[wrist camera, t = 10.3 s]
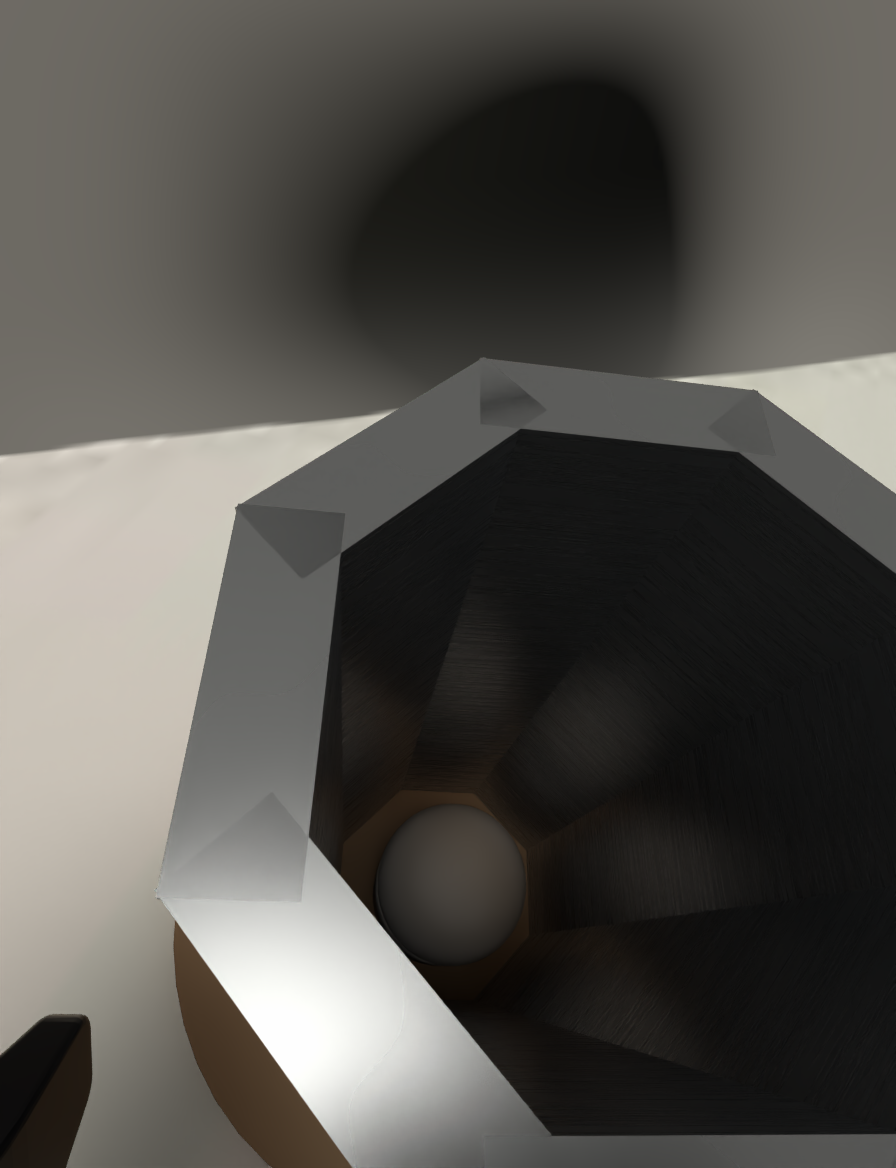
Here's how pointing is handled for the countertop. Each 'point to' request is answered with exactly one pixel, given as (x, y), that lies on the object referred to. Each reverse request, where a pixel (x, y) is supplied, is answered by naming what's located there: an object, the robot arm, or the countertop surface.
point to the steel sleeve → (566, 776)
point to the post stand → (413, 921)
